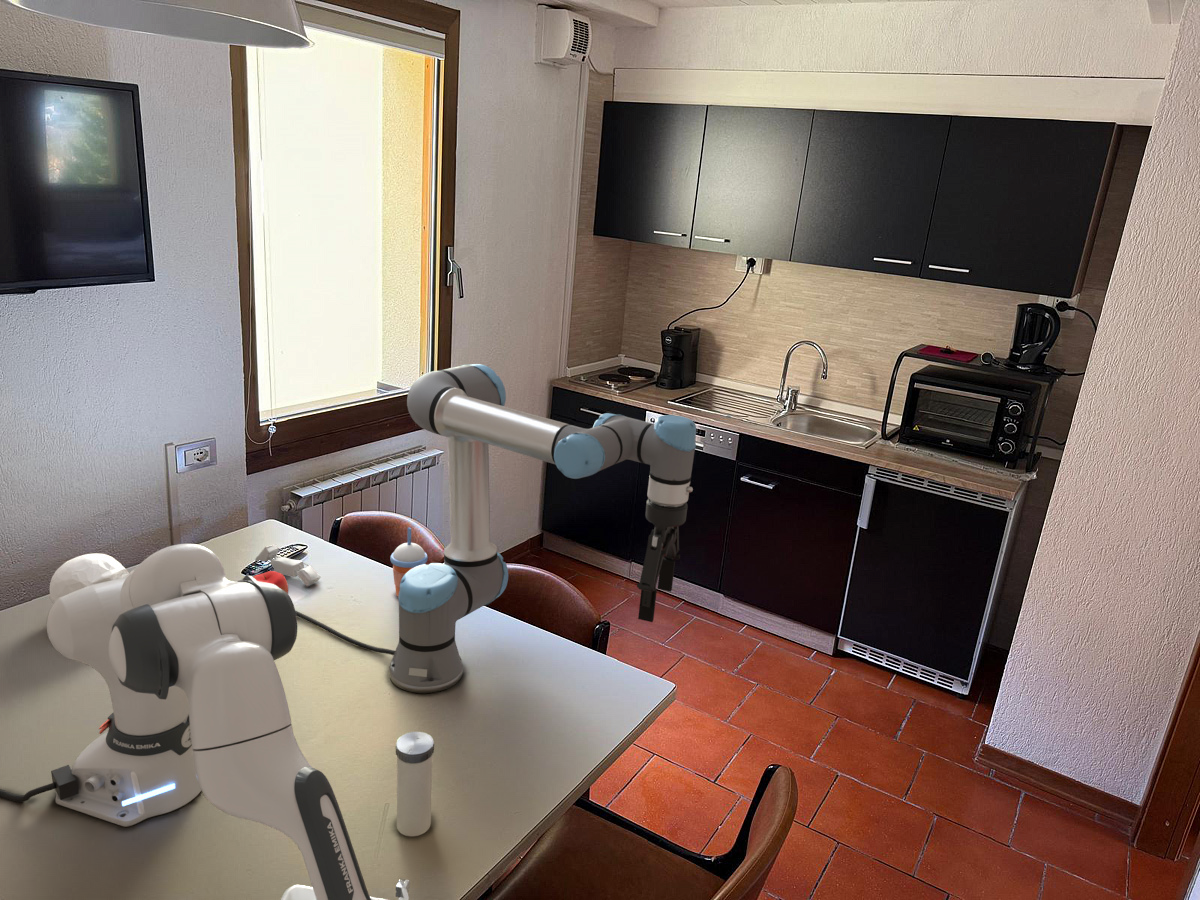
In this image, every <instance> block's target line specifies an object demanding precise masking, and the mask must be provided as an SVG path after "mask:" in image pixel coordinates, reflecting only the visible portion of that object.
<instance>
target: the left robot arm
mask: <svg viewBox="0 0 1200 900" xmlns="http://www.w3.org/2000/svg"><path fill="white" fill-rule="evenodd" d="M253 577H254V576H252V575H247V574H246V575H244V577H243V579H241V580H237V581H233V580H229V579H228V578H227V576H226V571H225V568H224V565H223V563H222V561H221V559H220V558H219V556H218V555H217V554H216V553H214V551H212V550H211V549H209V548H207V547H205V546H203V545H200V544H198V543H197V544H196V543H177V544H174V545H169V546H166V547H164V548H161V549H159V550H157V551H155V552H154V553H152V554H151V555H149V556H148V557H146V558H145V559H143V561H141V562H140V563H139V564H138V565H137V566H136V567H134V569H132V570H131V571H130V573H129V575H128V576H127V577H125V578H121V579H116V580H112V581H107V582H103V583H98V584H94V585H90V586H87V587H85V588H82V589H80V590H77V591H74V592H72V593H70V594H67V595H65V596H63V597H60V598H58V599H57V601H56V602H55V603H54V604H53V605H52V606H51V608H50V610H49V613H48V615H47V619H46V633H47V637H48V639H49V641H50V643H51V645H52V646H53V648H54V649H55V650H56V651H57V652H58V653H59V654H60V655H62V656H63V657H65V658H67V659H69V660H72V661H75V662H80V663H82V664H85V665H87V666H88V667H90V668H92V669H94V670H95V671H96V672H98V674H99V675H100V676H101V677H102V678H103V679H104V682H105V683H106V685H107V688H108V691H109V695H110V699H111V703H112V704H111V705H112V710H113V712H112V713H111V714H109V716H107V720H105V722H103V723H102V724H101V725H100V726H99V728H98V730H100V731H99V736H98V737H96V738H95V739H94V740H93V741H91V742H90V743H89V744H88V745H87V746H86V747H85V748H84V749H83V750H82V751H81V752H80V753H79V754H78V755H77V758H76V759H75V761H74V763H73V766H72V767H71V766H70V764H67V765H64V766H61V767H57V768H55V769H52V770H51V771H50V775H51V781H52V782H51V783H48V784H45V785H41V786H38V787H35V788H33V789H30V790H29V791H27V792H26V793H25V794H16V793H12V792H9V791H6V790H4V789H1V788H0V797H1V798H3V799H7V800H10V801H13V802H20V803H21V802H22V803H23V802H27V801H29V800H30V799H31V798H32V797H34V796H37V795H40V794H42V793H46V792H49V791H52V790H55V792H56V794H55V804H56V805H59V806H61V807H65V808H67V809H70V810H73V811H77V812H80V813H82V814H86V815H88V816H91V817H94V818H98V819H100V820H102V821H106V822H109V823H112V824H116V825H118V826H120V827H124V828H125V827H131V826H133V825H136V824H139V823H140V822H142V821H144V820H146V819H149V818H152V817H156V816H160V815H164V814H167V813H170V812H173V811H175V810H177V809H180V808H182V807H183V806H186V805H187V804H188V803H190V802H191V801H193V800H194V799H196V797H197V796H199V794H200V793H201V792H202V794H203V796H204V798H205V799H206V800H207V801H208V802H209V803H210V804H211V805H212V806H214V807H215V808H216V809H218V810H220V811H221V812H223V813H225V814H227V815H230V816H232V817H235V818H238V819H243V820H247V821H251V822H255V823H259V824H262V825H264V826H267V827H270V828H272V829H274V830H277V831H279V832H280V833H282V834H284V835H285V836H286V837H288V838H289V839H290V840H292V842H294V844H295V845H296V847H297V848H298V850H299V851H300V854H301V856H302V858H303V859H302V860H303V862H304V865H305V868H306V871H307V874H308V877H309V880H310V883H311V886H309V885H303V884H297V883H295V884H293V885H291V886H289V887H287V888H286V889H285V890H284V893H283V894H282V896H281V898H280V900H389V899H388V898H382V897H376V896H370V894H369V892H368V889H367V885H366V883H365V879H364V876H363V873H362V870H361V868H360V864H359V862H358V859H357V855H356V853H355V850H354V846H353V843H352V841H351V838H350V835H349V832H348V831H349V830H348V829H347V826H346V822H345V819H344V817H343V814H342V811H341V808H340V805H339V802H338V800H337V797H336V795H335V792H334V790H333V788H332V785H331V783H330V781H329V779H328V778H327V776H326V775H325V773H323V771H321V770H319V769H317V768H315V767H314V766H312V765H311V764H310V762H309V761H308V759H307V758H306V756H305V755H304V753H303V752H302V750H301V748H300V746H299V744H298V742H297V739H296V737H295V733H294V730H293V725H292V718H291V713H290V708H289V704H288V699H287V695H286V691H285V688H284V684H283V681H282V677H281V675H280V672H279V670H278V667H277V664H276V662H275V661H277V660H278V659H280V658H282V657H284V656H286V655H287V654H289V653H290V652H291V651H292V649H293V648H294V644H295V643H296V640H297V638H298V618H297V617H298V616H296V612H295V611H296V609H295V605H294V601H293V600H292V598H291V596H290V595H289V592H288V593H287V592H285V591H284V590H282V589H281V588H279V587H278V586H276V585H274V584H271V583H266V582H260V581H257V580H255V579H254V578H253ZM107 729H108V730H107ZM106 730H107V731H106ZM105 731H106V732H105ZM410 881H411V880H410V879H406V878H405V879H404V878H399V879H398V881H397V883H396V885H395V897H396V898H398V899H397V900H410V896H409V891H410V885H411V883H410Z"/></svg>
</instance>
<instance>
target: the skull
mask: <svg viewBox="0 0 1200 900" xmlns="http://www.w3.org/2000/svg"><path fill="white" fill-rule="evenodd" d="M129 574H130V573H129V571H128V569H127V568H126V567H124V566H123V565H122V563H121V562H119V561H118V560H117V559H115V558H114V557H113V556H110V555H109V554H106V553H85V554H82V555H78V556H75V557H73V558H71V559H69V560H67V561H65V562H64V563H62V564H61V565H60V566H59V567H58V568H57V569H56V570H55V572H54V573H53V574H52V577H51V579H50V583H49V597H50V599H51V602H52V604H53V605H54V603H55V602H56V601H57V599H58V598H60V597H63V596H65V595H67V594H70V593H72V592H74V591H77V590H80V589H82V588H85V587H87V586H90V585H94V584H98V583H103V582H107V581H112V580H116V579H121V578H125V577H127V576H128V575H129Z"/></svg>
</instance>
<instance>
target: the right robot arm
mask: <svg viewBox="0 0 1200 900" xmlns="http://www.w3.org/2000/svg"><path fill="white" fill-rule="evenodd" d="M407 392H408V393H407V398H406V406H407V411H408V413H409V415H410V418H411V419H412V420H413V422H414V423H415V424H416V425H417V426H418V427H420V428H421V429H423V430H425V431H427V432H430V433H433V434H435V435H437V436H438V435H439V436H441V437H446V440H447V441H446V442H447V465H448V467H447V469H448V499H449V500H448V501H449V504H448V505H449V531H450V532H449V533H450V534H449V535H450V543H449V544H447V546H445V548H444V549H443V559H444V560H443V562H444V563H440V562H430V563H429V564H426V563H425V564H422V565H419V566H416V567H414V568H412V569H411V570H409V571H408V572H407V573H406V574H405V575H404V576H403V578H402V580H401V582H400V591H399V595H398V596H397V599H398V643H397V645H396V648H395V650H394V649H389V648H382V647H377V646H373V645H370V644H367V643H364V642H362V641H359V640H357V639H354V638H352V637H349V636H347V635H346V634H343V633H341V632H339V631H337V630H336V629H334V628H332V627H330V626H328V625H326V624H324V623H322V622H320V621H319V620H317V619H314V618H312V617H311V616H308V615H306V614H304V613H302V612H300V611H298V610H295V612H296V616H297V617H298V618H300V619H302V620H304V621H307V622H309V623H310V624H312V625H314V626H316V627H318V628H320V629H322V630H324V631H326V632H327V633H330V634H332V635H333V636H335V637H336V638H339V639H341V640H343V641H345V642H348V643H349V644H352V645H354V646H356V647H360V648H362V649H364V650H367V651H371V652H374V653H381V654H388V655H391V656H392V659H391V660H390V666H389V679H390V681H391V682H392V683H393V684H394V685H395V686H396V687H398V688H399V689H401V690H404V691H407V692H410V693H416V694H430V693H431V694H432V693H438V692H441V691H445V690H447V689H450V688H451V687H453V686H455V685H456V684H457V683H458V682H459V681H460V680H461V679H462V676H463V672H464V664H463V660H462V657H461V656H460V653H459V649H458V646H457V642H456V623H457V621H459V620H461V619H463V618H465V617H466V616H468V615H470V614H471V613H473V612H475V611H477V610H479V609H481V608H482V607H486V606H488V605H490V604H491V603H492V602H494V601H496V599H498V598H499V597H500V596H501V595H502V594H503V593H504V591H506V588H507V586H508V581H509V568H508V565H507V563H506V562H505V561H504V557H503V555H501V553H500V552H498V547H497V546H496V545H495V544H494V543H493V542H491V515H490V514H491V511H490V509H491V507H490V506H491V504H490V457H489V456H490V455H489V445H490V446H493V447H497V448H500V449H503V450H507V451H510V452H514V453H517V454H520V455H522V456H527V457H530V458H532V459H537V460H539V461H543V462H545V463H550V464H553V465H555V466H556V468H557V470H558V471H559V472H561V473H562V475H564V476H565V477H567V478H570V479H572V480H573V479H574V480H577V479H582V478H588V477H590V476H593V475H595V474H597V473H598V472H600V471H603V470H606V469H607V468H610V467H612V466H614V465H616V464H619V463H621V462H624V461H626V460H629V461H633V462H637V463H639V464H640V463H641V464H643V465H649V476H648V477H649V478H648V485H647V493H646V494H647V495H646V496H647V500H646V505H645V514H644V516H645V519H646V520H647V521H648V522H649V523H651V524H653V526H654V529H651V531H650V534H649V535H648V537H647V539H648V540H647V546H646V551H645V556H644V560H643V565H642V569H641V575H640V579H639V583H637V584H636V588H637V589H638V590H640V598H639V608H638V609H639V610H638V617H637V620H641V621H645V622H649V623H653V622H654V618H655V611H656V610H655V609H656V601H657V594H658V593H657V592H658V590H661V591H665V592H669V593H670V592H672V591H673V583H674V574H675V567H676V560H678V561H679V560H680V558H681V554H680V553H679V551H680V526H683V525H684V524H685V523H686V522H687V515H688V514H687V513H688V506H689V505H688V503H687V502H688V501H689V496H690V493H692V492H693V490H694V489H693V487H692V486H690V485H691V480H692V472H693V466H694V465H693V464H694V458H695V451H696V447H697V443H696V439H697V425H696V423H695V422H694V420H692V419H690V418H689V417H685V416H682V415H681V416H680V415H674V414H665V415H659V416H658V417H657V418H656V420H655V423H652V422H648V421H644V420H641V419H637V418H632V417H629V416H625V415H623V414H619V413H617V414H615V413H610V412H606V413H602V414H601V415H599V416H598V419H596V420H595V421H594V424H593V426H592V427H590V428H584V427H580V426H576V425H572V424H569V423H566V422H562V421H559V420H554V419H551V418H548V417H543V416H540V415H537V414H533V413H530V412H526V411H522V410H518V409H515V408H511V407H507V406H505V404H506V401H507V393H506V387H505V384H504V383H503V381H502V379H501V377H500V376H499V375H497V373H496V371H495V370H494V369H493V368H491V367H490V366H488V365H485V364H480V363H473V364H471V363H470V364H462V365H458V366H454V367H449V368H445V369H439V370H433V371H428V372H427V373H424V374H422V375H421V376H419V377H418V378H417V379H415V381H414V382H412V384H411V386H410V388H409V390H408V391H407Z"/></svg>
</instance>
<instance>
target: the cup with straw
mask: <svg viewBox="0 0 1200 900" xmlns="http://www.w3.org/2000/svg"><path fill="white" fill-rule="evenodd" d="M406 541H407V542H404V543H401V544H399V545H398V546H397V547H396V548H395V549H394V551H393V552H392V553H391V555H390V560H389V561H390V563H391V564H392V575H393V583H394V586H395V595H396V597H398V595H399V591H400V582H401V580H402V578H403V576H404V575H405V574H406V573H407V572H408V571H409V570H411V569H412V568H414V567H416V566H419V565H422V564H426V563H428V558H429V557H428V554H427V552H426V551H425V550H424V549H423V547H422V546H421V545H419V544H418V543H415V542H412V527H407V540H406Z"/></svg>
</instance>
